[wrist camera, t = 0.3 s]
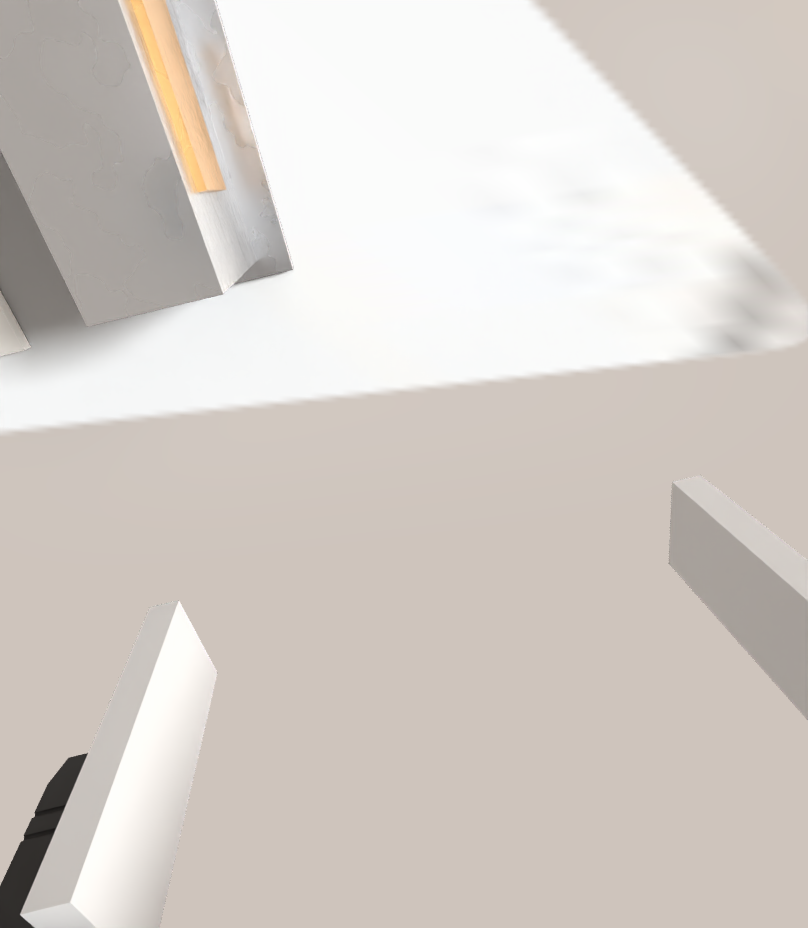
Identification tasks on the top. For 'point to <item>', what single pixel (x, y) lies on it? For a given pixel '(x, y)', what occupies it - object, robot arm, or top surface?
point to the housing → (135, 151)
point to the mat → (10, 331)
